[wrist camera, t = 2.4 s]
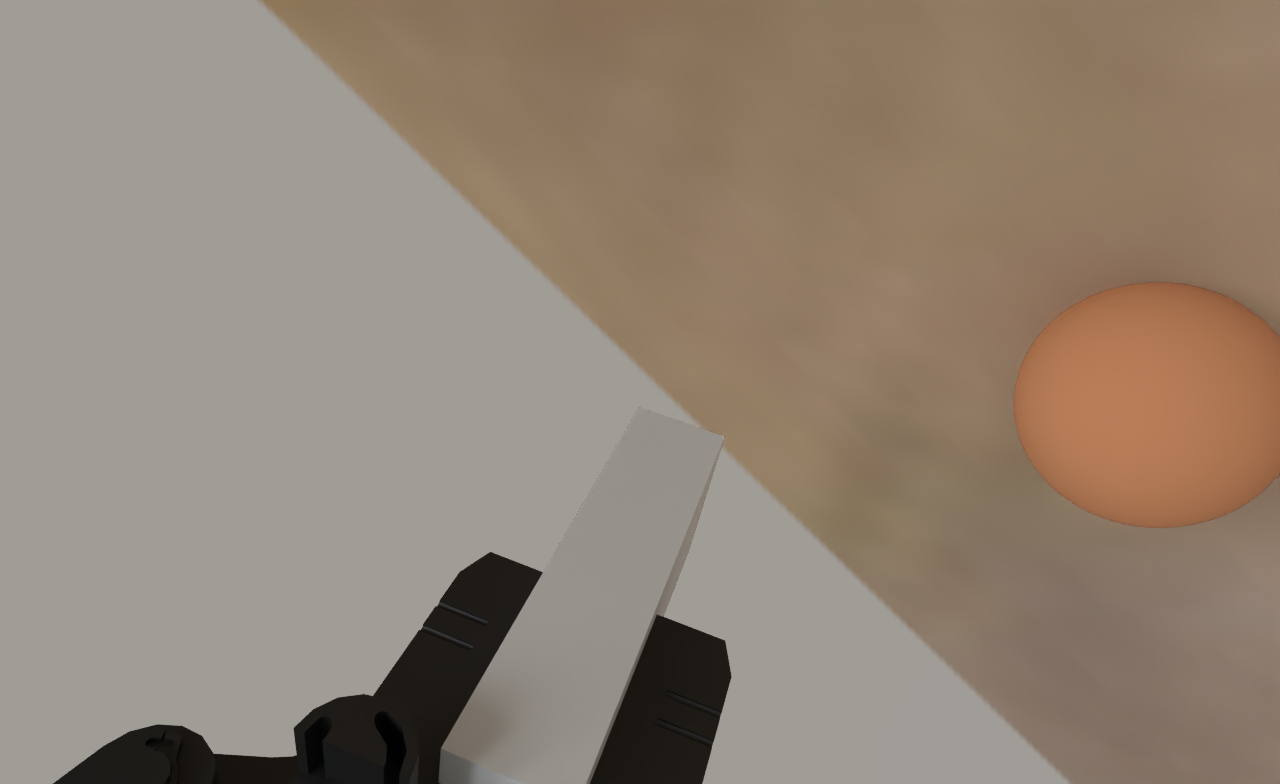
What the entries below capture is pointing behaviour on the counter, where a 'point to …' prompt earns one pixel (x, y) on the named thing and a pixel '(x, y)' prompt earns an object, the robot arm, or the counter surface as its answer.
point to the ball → (1153, 405)
